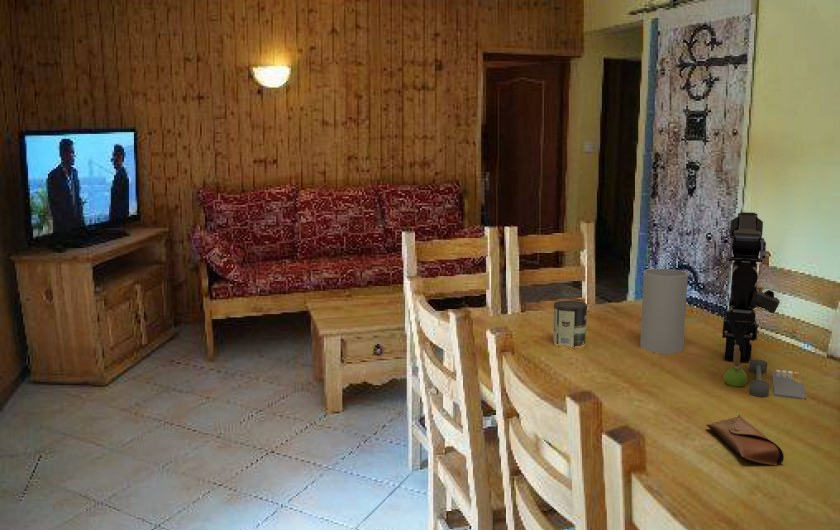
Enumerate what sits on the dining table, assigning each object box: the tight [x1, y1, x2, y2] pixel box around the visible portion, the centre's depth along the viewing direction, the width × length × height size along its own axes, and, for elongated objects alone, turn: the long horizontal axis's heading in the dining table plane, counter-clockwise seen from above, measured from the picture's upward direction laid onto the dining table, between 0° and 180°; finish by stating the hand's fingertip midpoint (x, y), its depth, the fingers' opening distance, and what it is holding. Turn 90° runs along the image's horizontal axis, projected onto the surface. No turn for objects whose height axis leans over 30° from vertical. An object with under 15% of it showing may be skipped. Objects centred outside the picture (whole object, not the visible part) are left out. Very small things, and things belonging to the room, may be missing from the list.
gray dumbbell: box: [748, 359, 770, 398], centre depth 184 cm, size 4×22×4 cm, turn 155°
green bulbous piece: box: [723, 341, 748, 388], centre depth 183 cm, size 5×6×12 cm
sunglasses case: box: [705, 414, 785, 467], centre depth 148 cm, size 18×7×7 cm
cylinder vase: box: [639, 268, 689, 355], centre depth 212 cm, size 12×12×25 cm
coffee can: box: [552, 300, 588, 347], centre depth 219 cm, size 10×10×14 cm
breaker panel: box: [771, 369, 807, 401], centre depth 181 cm, size 7×18×3 cm, turn 155°
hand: (739, 340), depth 181 cm, fingers open, 9 cm apart
